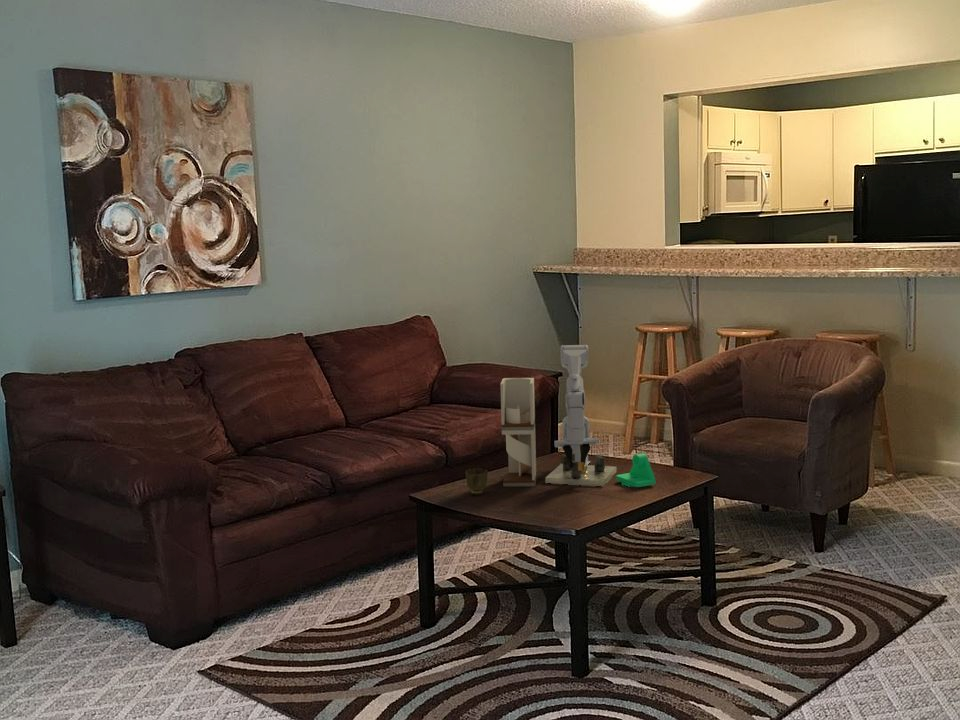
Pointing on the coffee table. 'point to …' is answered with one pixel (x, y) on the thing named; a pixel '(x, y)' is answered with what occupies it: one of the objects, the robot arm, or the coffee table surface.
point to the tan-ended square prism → (577, 469)
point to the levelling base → (590, 474)
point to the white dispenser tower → (519, 430)
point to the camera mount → (638, 473)
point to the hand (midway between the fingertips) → (576, 466)
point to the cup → (476, 480)
